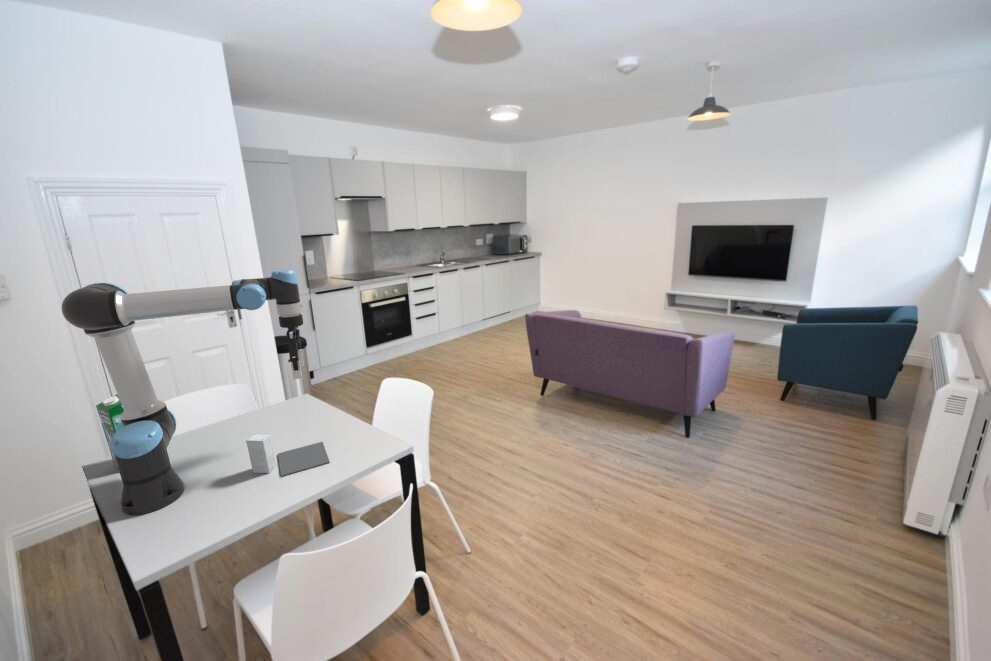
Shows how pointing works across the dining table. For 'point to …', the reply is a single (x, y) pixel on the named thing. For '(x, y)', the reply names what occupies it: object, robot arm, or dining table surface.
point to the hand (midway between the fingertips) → (299, 372)
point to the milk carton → (110, 418)
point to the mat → (302, 458)
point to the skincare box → (261, 453)
